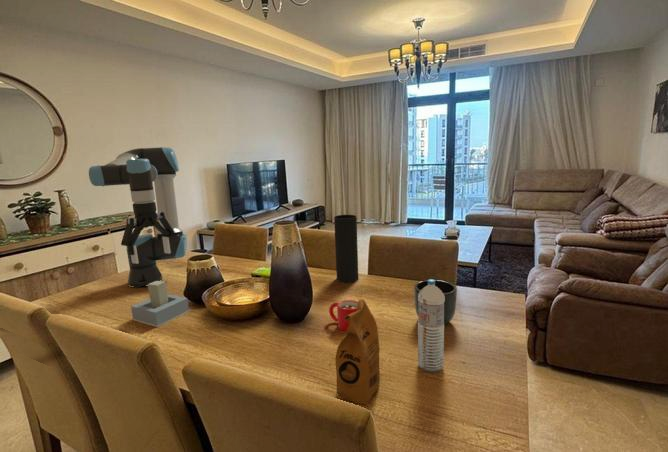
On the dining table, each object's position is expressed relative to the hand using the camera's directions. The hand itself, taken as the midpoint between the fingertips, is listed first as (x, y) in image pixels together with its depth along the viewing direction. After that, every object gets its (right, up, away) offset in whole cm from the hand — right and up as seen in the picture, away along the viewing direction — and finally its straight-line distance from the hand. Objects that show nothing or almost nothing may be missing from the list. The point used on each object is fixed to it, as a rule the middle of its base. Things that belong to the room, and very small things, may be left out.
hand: (152, 258), depth 138 cm
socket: (+2, -23, +3) cm, 23 cm away
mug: (+72, -23, -10) cm, 76 cm away
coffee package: (+75, -29, -45) cm, 92 cm away
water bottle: (+95, -27, -37) cm, 105 cm away
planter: (+103, -21, -11) cm, 106 cm away
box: (+2, -22, +3) cm, 22 cm away
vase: (+75, -13, +35) cm, 83 cm away
